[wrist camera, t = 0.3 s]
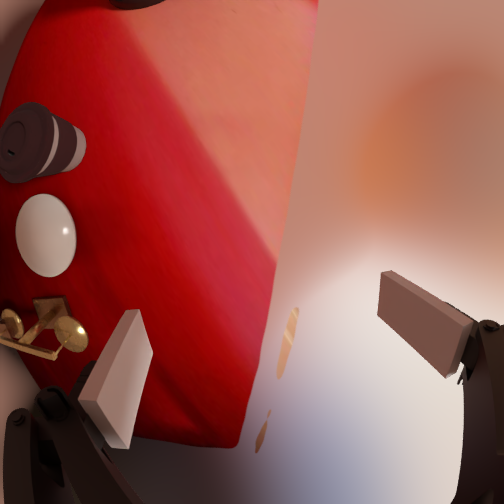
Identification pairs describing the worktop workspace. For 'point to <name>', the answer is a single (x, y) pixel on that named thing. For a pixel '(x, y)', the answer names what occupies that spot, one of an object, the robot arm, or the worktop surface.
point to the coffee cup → (38, 144)
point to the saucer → (46, 235)
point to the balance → (45, 327)
